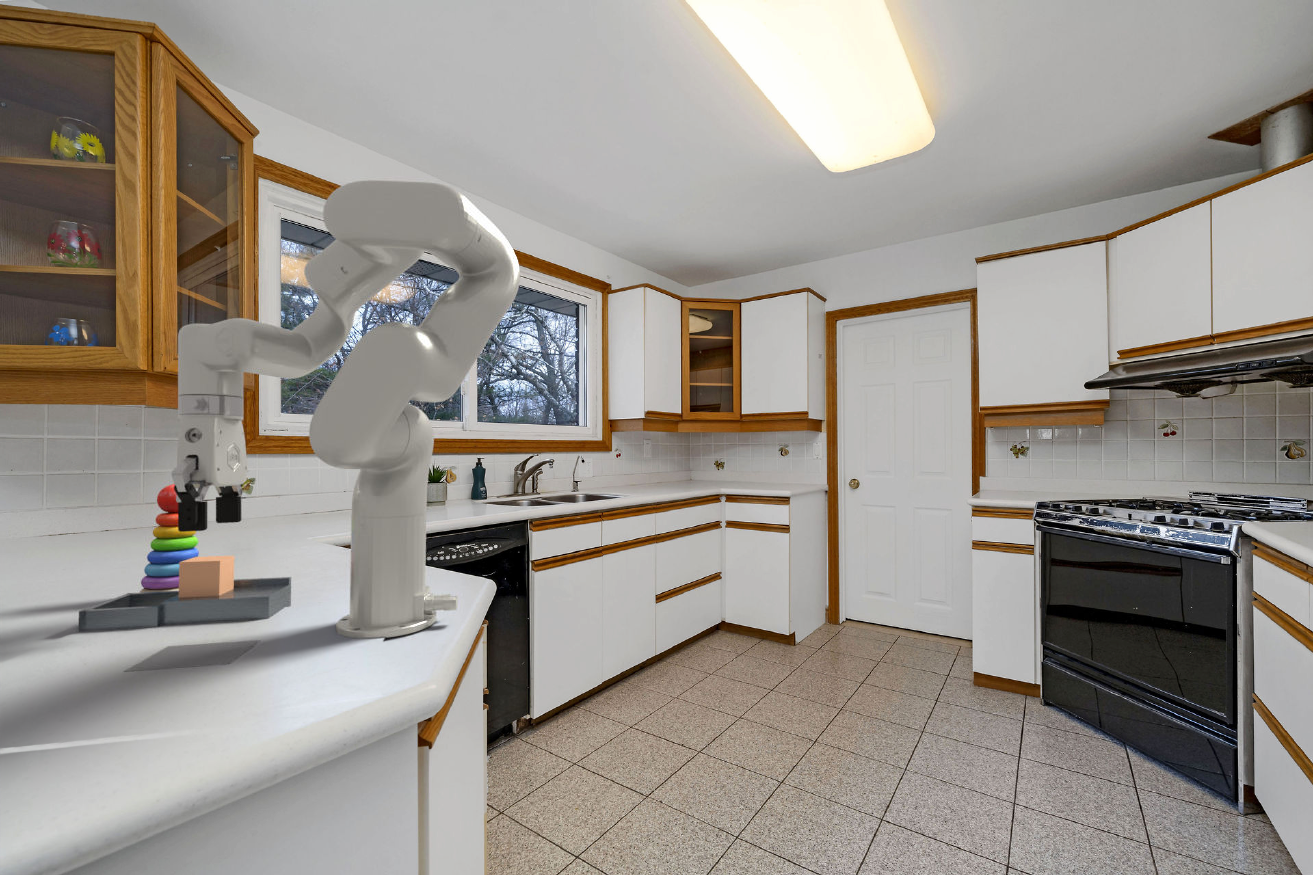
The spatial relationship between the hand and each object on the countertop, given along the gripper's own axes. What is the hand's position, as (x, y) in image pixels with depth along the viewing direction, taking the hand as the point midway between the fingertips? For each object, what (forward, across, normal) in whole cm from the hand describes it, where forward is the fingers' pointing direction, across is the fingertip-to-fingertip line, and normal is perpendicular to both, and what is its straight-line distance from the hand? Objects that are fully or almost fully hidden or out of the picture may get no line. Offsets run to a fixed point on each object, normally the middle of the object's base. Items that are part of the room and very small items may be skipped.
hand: (211, 526), depth 81 cm
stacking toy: (+13, +14, +12) cm, 23 cm away
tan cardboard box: (+10, 0, +1) cm, 10 cm away
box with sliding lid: (+13, 0, +2) cm, 13 cm away
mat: (+14, -18, -7) cm, 23 cm away
